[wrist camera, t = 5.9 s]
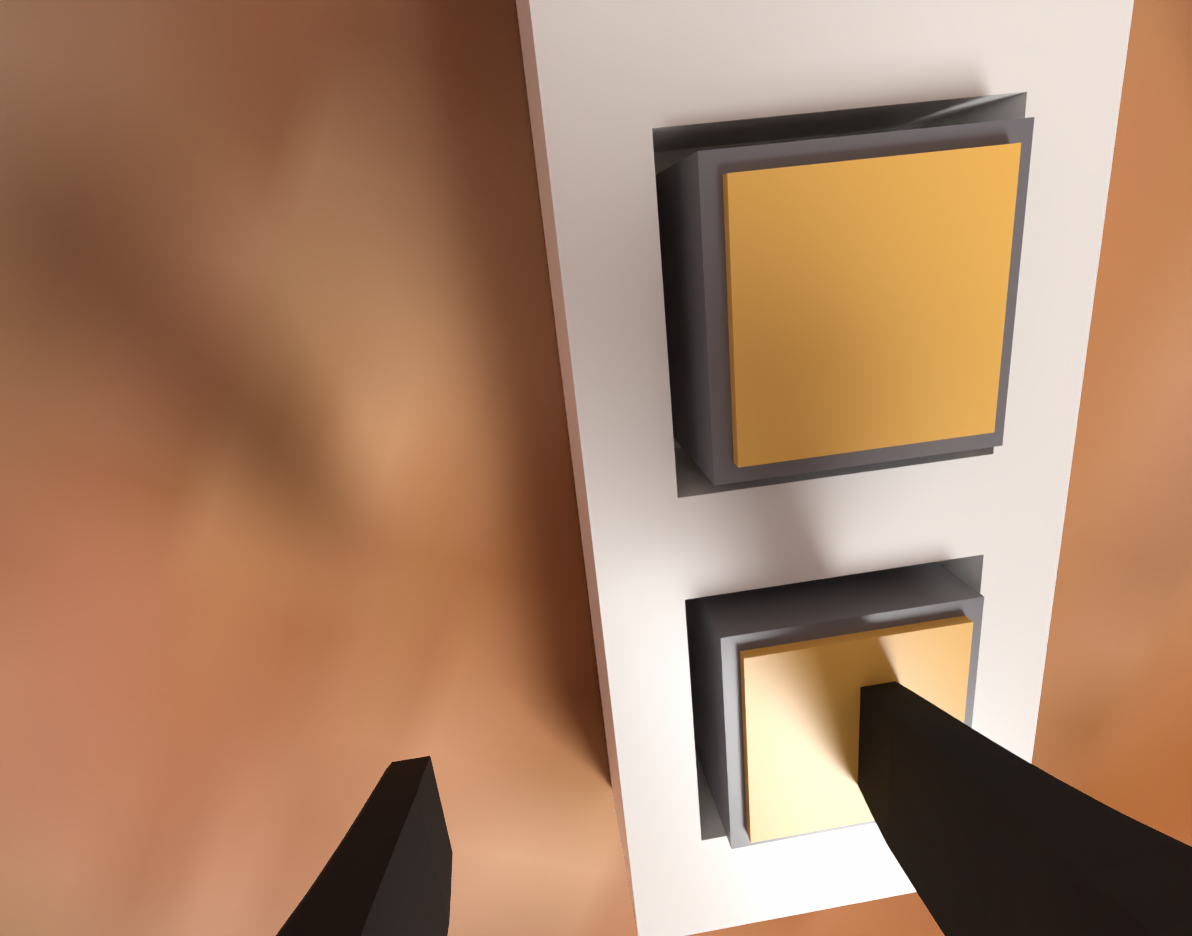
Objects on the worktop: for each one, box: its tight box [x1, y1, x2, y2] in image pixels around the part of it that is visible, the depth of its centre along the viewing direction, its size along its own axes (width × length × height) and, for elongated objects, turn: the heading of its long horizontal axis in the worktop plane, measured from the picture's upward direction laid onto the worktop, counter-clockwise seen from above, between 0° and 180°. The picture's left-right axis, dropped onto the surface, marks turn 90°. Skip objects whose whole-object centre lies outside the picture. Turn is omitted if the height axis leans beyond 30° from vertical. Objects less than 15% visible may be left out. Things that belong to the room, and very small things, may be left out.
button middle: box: [655, 117, 1035, 486], centre depth 10 cm, size 4×4×3 cm
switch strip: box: [516, 0, 1134, 936], centre depth 11 cm, size 8×24×4 cm, turn 6°
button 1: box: [685, 562, 984, 849], centre depth 13 cm, size 4×4×3 cm
